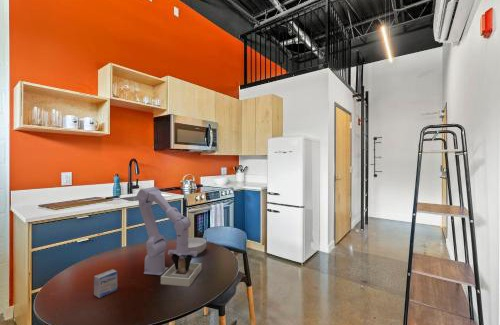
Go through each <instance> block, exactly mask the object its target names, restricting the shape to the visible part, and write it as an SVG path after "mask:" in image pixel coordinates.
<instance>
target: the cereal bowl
mask: <svg viewBox="0 0 500 325" xmlns="http://www.w3.org/2000/svg"><path fill="white" fill-rule="evenodd" d="M206 248H207V240H206V239H205V238H202V237H188V250H192V251H197V255H199V254H200V253H203V252H204V251H205V249H206Z"/></svg>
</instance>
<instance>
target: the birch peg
mask: <svg viewBox="0 0 500 325" xmlns="http://www.w3.org/2000/svg"><path fill="white" fill-rule="evenodd" d="M186 272H187V271H186V261H185V257H179V259H178V274H186Z"/></svg>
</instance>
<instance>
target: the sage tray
mask: <svg viewBox="0 0 500 325" xmlns="http://www.w3.org/2000/svg"><path fill="white" fill-rule="evenodd" d="M201 271H202V262H201V263H200V262H192V261H191V262H190V265H189V269H188V271H187V272H186V274H178V270H176V268H175V264H174V263H173V264H172V265H171V266H170V267H168V269H167V270H166V271H165V272H164V273H163V274H162V275H160V285H167V286H176V287H177V286H178V287H188V288H190V287H191V285H192V284H193V282H194V281H195V279H196V278H197V277H198V275H199V274H200V273H201Z"/></svg>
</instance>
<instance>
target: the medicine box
mask: <svg viewBox="0 0 500 325" xmlns="http://www.w3.org/2000/svg"><path fill="white" fill-rule="evenodd" d="M117 290H118V271H117V270H115V269H110V270H107V271H104V272H102V273H98V274H96V275H93V295H94V296H95V297H97V298H99V299H101V298H103V296H104V297H105V295H106V296H108V295H109V294H112V293H114V292H116V291H117Z"/></svg>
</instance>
